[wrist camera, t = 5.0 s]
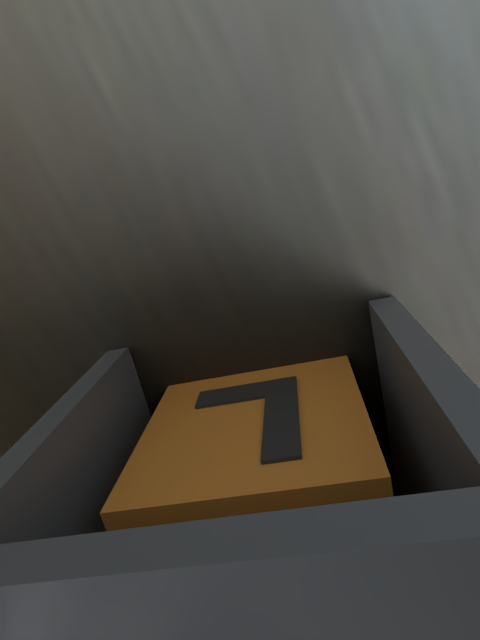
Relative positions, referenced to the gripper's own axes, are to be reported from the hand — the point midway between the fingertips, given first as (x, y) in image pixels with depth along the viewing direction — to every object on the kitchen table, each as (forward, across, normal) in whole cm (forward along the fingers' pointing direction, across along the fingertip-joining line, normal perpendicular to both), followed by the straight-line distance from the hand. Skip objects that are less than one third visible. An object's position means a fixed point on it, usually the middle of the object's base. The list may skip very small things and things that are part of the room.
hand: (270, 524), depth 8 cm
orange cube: (+2, 0, 0) cm, 2 cm away
